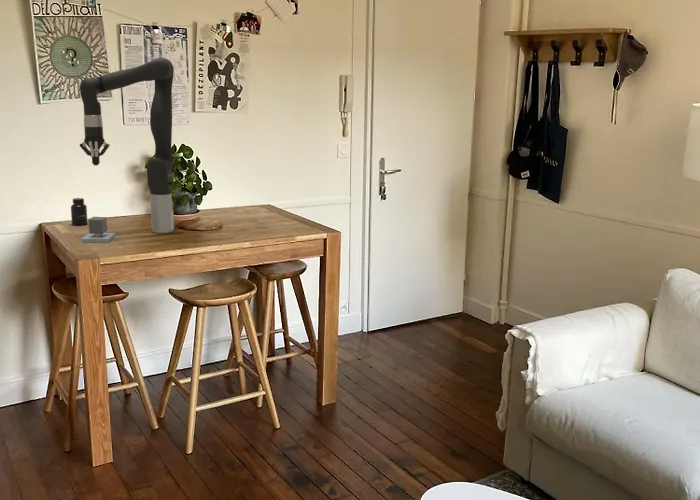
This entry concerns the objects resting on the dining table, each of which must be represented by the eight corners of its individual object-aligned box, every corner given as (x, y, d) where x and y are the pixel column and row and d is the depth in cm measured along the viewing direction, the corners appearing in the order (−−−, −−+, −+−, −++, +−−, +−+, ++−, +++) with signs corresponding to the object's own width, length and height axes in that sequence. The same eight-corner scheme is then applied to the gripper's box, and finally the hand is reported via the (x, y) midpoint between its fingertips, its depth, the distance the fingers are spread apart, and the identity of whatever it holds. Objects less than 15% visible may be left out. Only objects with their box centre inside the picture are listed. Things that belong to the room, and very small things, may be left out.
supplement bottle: (82, 226, 322) (80, 200, 319) (68, 225, 324) (66, 199, 321) (90, 223, 329) (88, 198, 326) (77, 222, 330) (75, 197, 327)
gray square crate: (107, 230, 302) (106, 217, 300) (102, 233, 296) (101, 220, 295) (94, 230, 302) (93, 216, 300) (89, 233, 296) (88, 219, 295)
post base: (115, 236, 306) (114, 217, 303) (108, 242, 295) (107, 222, 293) (89, 236, 305) (88, 216, 303) (81, 242, 294) (80, 222, 292)
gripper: (111, 125, 310) (113, 164, 314) (80, 124, 309) (83, 163, 313) (106, 126, 303) (109, 166, 307) (75, 125, 302) (78, 166, 306)
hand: (96, 165), depth 310 cm, fingers closed
